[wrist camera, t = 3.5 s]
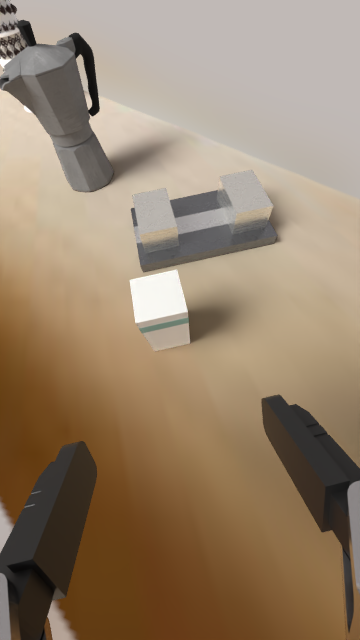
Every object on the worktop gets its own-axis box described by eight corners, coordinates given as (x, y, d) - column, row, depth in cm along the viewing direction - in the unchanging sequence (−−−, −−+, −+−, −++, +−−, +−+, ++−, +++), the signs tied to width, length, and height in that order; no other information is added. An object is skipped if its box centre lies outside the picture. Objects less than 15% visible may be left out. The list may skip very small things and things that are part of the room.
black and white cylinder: (62, 106, 54) (-36, -117, 31) (27, 117, 53) (-101, -106, 30) (53, 92, 58) (-40, -116, 35) (20, 103, 56) (-98, -106, 34)
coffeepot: (83, 206, 38) (-3, 47, 21) (50, 189, 40) (-49, 36, 24) (137, 160, 42) (101, -1, 26) (104, 147, 45) (52, -5, 29)
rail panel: (246, 192, 36) (253, 160, 32) (273, 243, 31) (287, 214, 27) (133, 216, 36) (124, 187, 31) (142, 272, 31) (133, 247, 26)
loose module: (182, 311, 28) (177, 269, 20) (190, 343, 26) (188, 311, 18) (149, 319, 28) (129, 279, 19) (154, 351, 26) (135, 323, 18)
